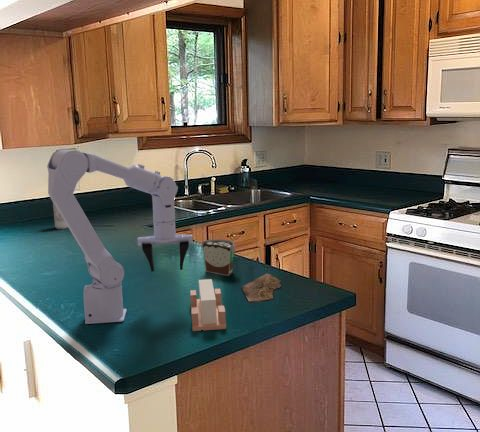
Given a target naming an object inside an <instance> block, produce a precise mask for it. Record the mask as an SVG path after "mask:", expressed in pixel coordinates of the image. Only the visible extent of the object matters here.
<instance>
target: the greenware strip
mask: <svg viewBox="0 0 480 432" xmlns="http://www.w3.org/2000/svg"><path fill="white" fill-rule="evenodd" d="M214 289H215V288H214V284H213V279H212V278H207V279H198V291H199V294H198V295H199V296H198V297H199V298H198V299H200V309H201V318H202V324H214V323H217V317H216V298H215V291H214Z"/></svg>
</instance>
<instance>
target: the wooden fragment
mask: <svg viewBox="0 0 480 432" xmlns="http://www.w3.org/2000/svg"><path fill="white" fill-rule="evenodd" d="M281 283H282V281H281V280H280V279H279V278H277V277H276V276H273V275H272V274H269V273H265V274H263V275H261V276H259V277H257V278H255V279H252V280H250V281H249V282H247V283H246V284H244V285H242V286H241V288H240V289H241V290H242V292H243V294H244V296H245V297H246V299H247V301H248V303H260V302H265V301H267V302H268V301H270V300H274V293H275V290H278V289H280V288H281V287H282V285H281Z"/></svg>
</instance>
